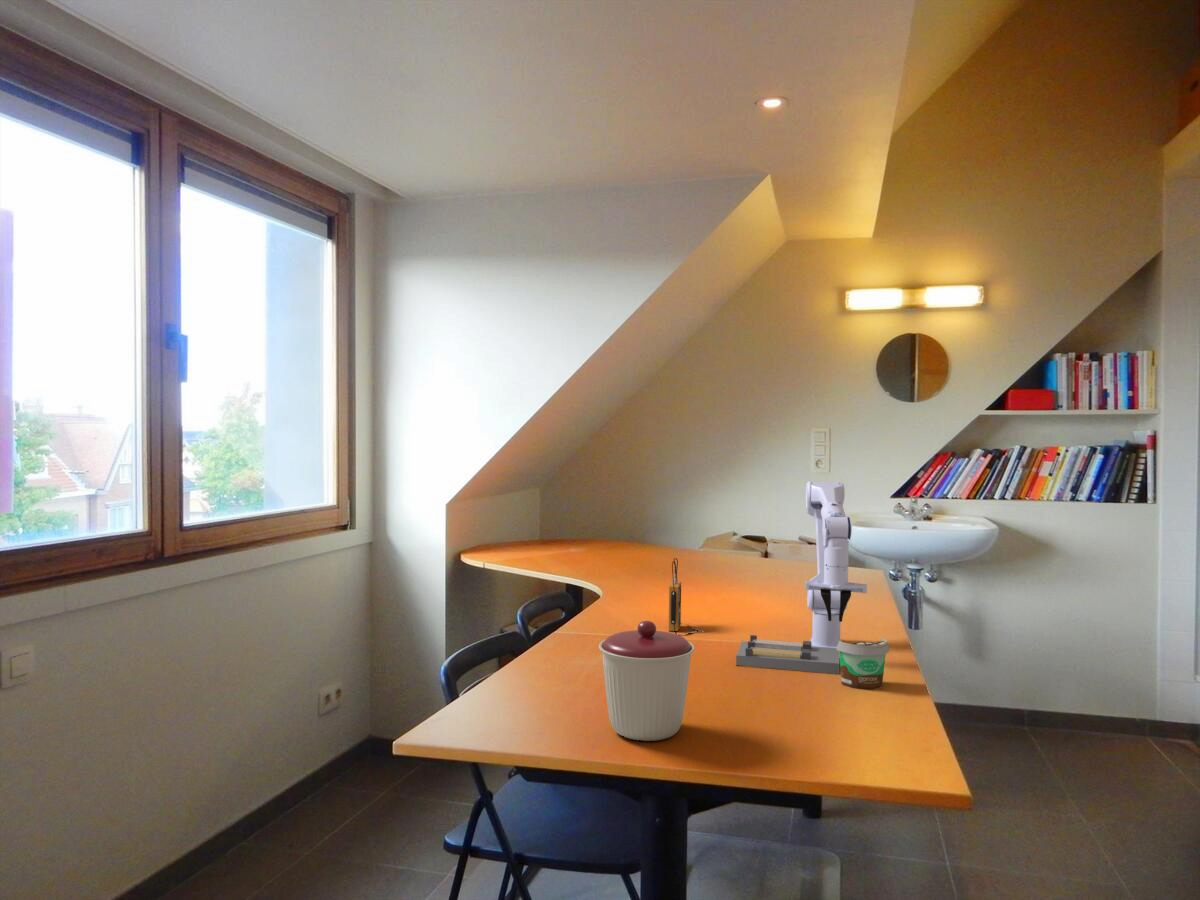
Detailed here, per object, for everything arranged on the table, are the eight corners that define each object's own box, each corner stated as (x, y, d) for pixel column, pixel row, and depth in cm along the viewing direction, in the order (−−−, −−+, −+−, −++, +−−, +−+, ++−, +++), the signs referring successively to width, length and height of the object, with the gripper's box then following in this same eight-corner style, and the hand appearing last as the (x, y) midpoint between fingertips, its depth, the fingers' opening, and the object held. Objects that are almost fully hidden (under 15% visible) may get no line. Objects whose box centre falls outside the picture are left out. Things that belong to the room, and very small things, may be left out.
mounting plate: (741, 650, 218) (741, 634, 218) (838, 658, 212) (838, 641, 212) (736, 665, 204) (736, 648, 204) (839, 674, 198) (839, 656, 198)
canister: (686, 715, 170) (688, 610, 169) (700, 750, 151) (701, 633, 151) (596, 715, 169) (597, 610, 168) (599, 750, 151) (600, 633, 150)
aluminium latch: (752, 646, 212) (752, 642, 212) (753, 642, 216) (753, 639, 216) (801, 650, 209) (801, 646, 209) (801, 647, 213) (801, 643, 213)
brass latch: (749, 654, 205) (749, 650, 205) (750, 650, 208) (750, 646, 208) (800, 659, 202) (800, 655, 202) (800, 655, 205) (800, 651, 205)
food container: (850, 693, 184) (851, 647, 184) (835, 684, 190) (836, 640, 190) (900, 689, 188) (900, 644, 187) (883, 680, 194) (884, 637, 193)
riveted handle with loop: (702, 637, 232) (703, 564, 231) (666, 635, 234) (667, 563, 233) (707, 625, 246) (707, 556, 245) (672, 623, 248) (673, 555, 247)
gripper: (805, 566, 205) (804, 621, 206) (867, 569, 202) (866, 626, 202) (806, 561, 212) (805, 615, 213) (866, 564, 208) (865, 619, 209)
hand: (835, 620), depth 208 cm, fingers closed
